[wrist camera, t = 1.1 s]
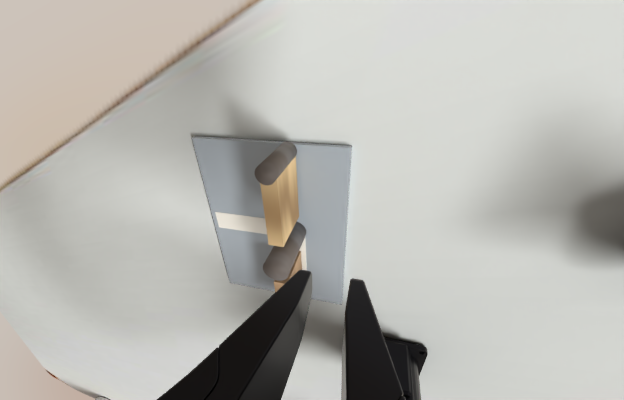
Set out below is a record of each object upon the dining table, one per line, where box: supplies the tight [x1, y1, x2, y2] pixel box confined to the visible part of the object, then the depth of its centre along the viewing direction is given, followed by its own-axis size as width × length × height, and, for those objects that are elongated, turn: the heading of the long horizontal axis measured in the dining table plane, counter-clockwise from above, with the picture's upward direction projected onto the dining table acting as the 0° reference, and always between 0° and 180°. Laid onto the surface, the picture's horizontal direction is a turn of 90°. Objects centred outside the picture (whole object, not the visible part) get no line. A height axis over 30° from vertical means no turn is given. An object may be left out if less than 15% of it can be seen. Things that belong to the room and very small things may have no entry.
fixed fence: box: [263, 222, 306, 292], centre depth 20 cm, size 8×2×5 cm, turn 1°
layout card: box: [192, 136, 352, 305], centre depth 21 cm, size 15×11×1 cm
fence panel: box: [255, 141, 299, 247], centre depth 16 cm, size 6×1×4 cm, turn 1°
